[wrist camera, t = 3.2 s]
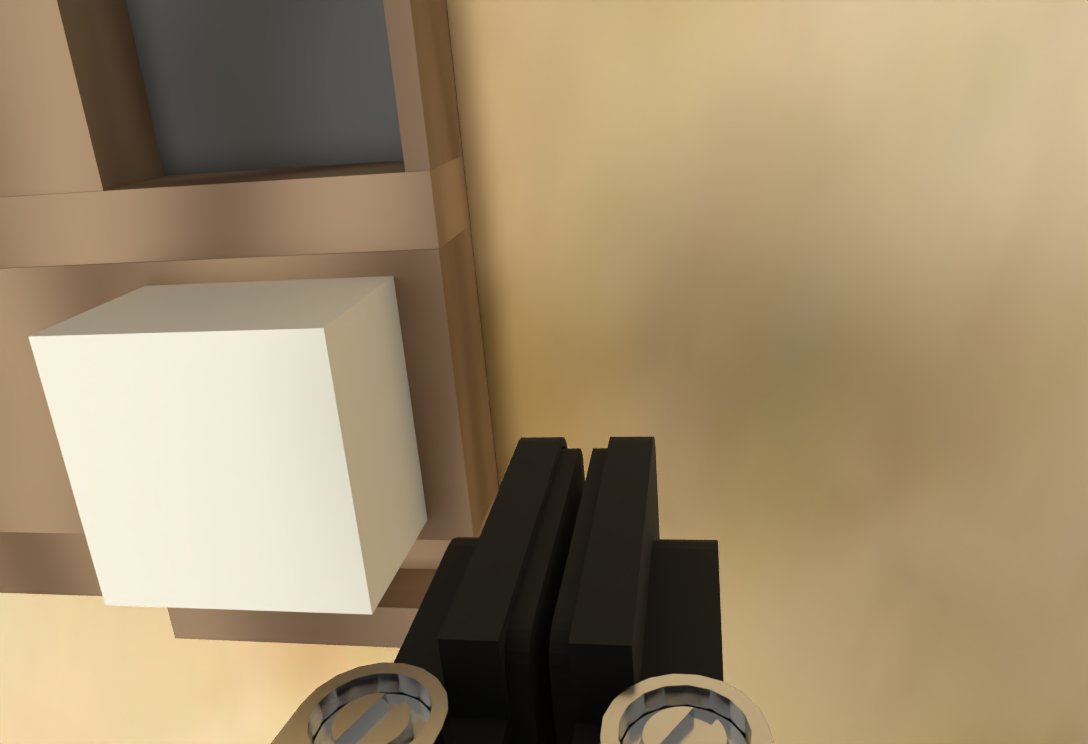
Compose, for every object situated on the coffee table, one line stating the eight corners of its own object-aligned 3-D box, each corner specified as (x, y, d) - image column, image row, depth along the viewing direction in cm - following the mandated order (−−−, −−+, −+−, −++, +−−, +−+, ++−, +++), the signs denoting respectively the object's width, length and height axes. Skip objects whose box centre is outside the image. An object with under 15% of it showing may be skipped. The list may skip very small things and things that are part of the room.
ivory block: (393, 275, 18) (323, 327, 15) (427, 519, 20) (372, 614, 16) (145, 285, 19) (28, 336, 16) (199, 516, 21) (105, 604, 17)
